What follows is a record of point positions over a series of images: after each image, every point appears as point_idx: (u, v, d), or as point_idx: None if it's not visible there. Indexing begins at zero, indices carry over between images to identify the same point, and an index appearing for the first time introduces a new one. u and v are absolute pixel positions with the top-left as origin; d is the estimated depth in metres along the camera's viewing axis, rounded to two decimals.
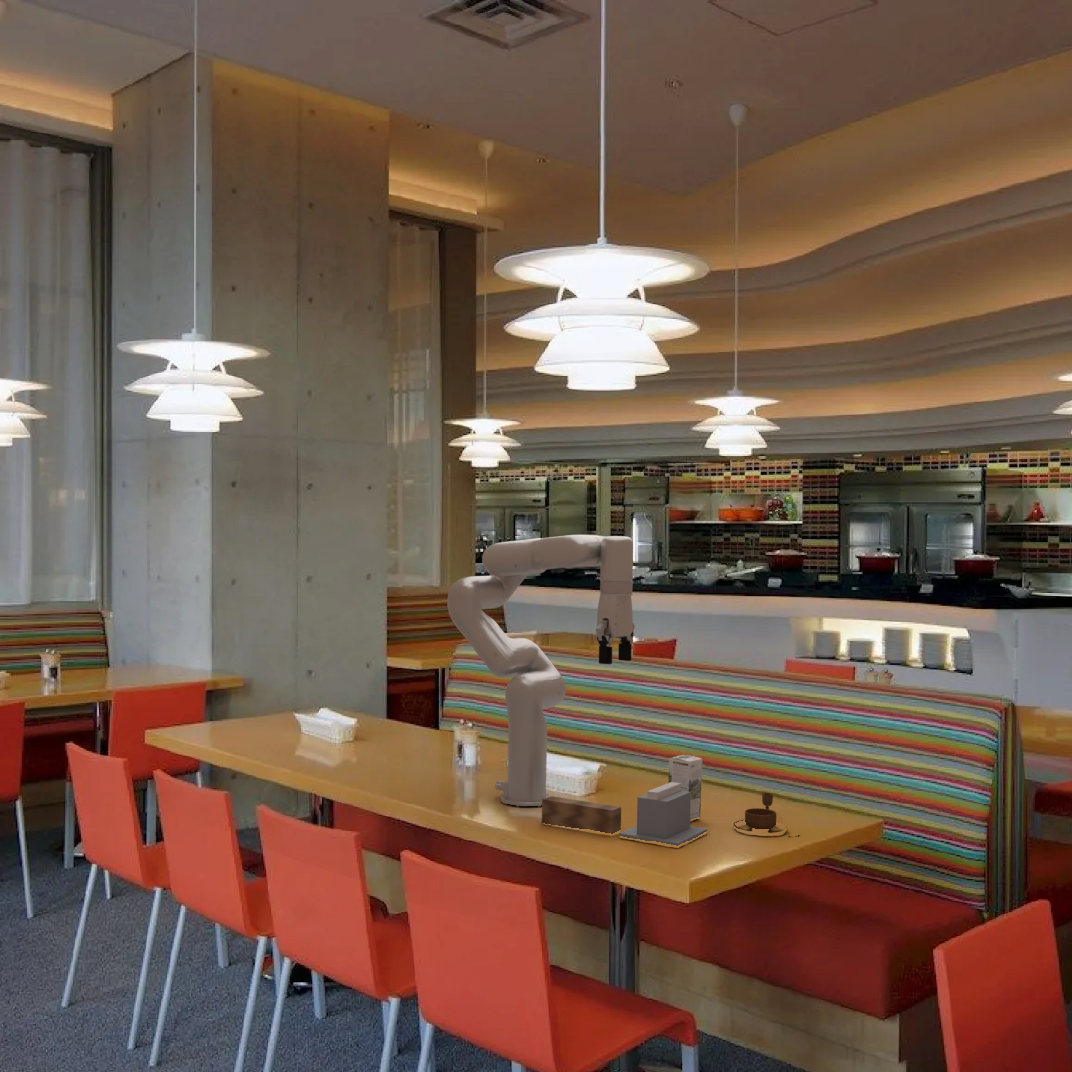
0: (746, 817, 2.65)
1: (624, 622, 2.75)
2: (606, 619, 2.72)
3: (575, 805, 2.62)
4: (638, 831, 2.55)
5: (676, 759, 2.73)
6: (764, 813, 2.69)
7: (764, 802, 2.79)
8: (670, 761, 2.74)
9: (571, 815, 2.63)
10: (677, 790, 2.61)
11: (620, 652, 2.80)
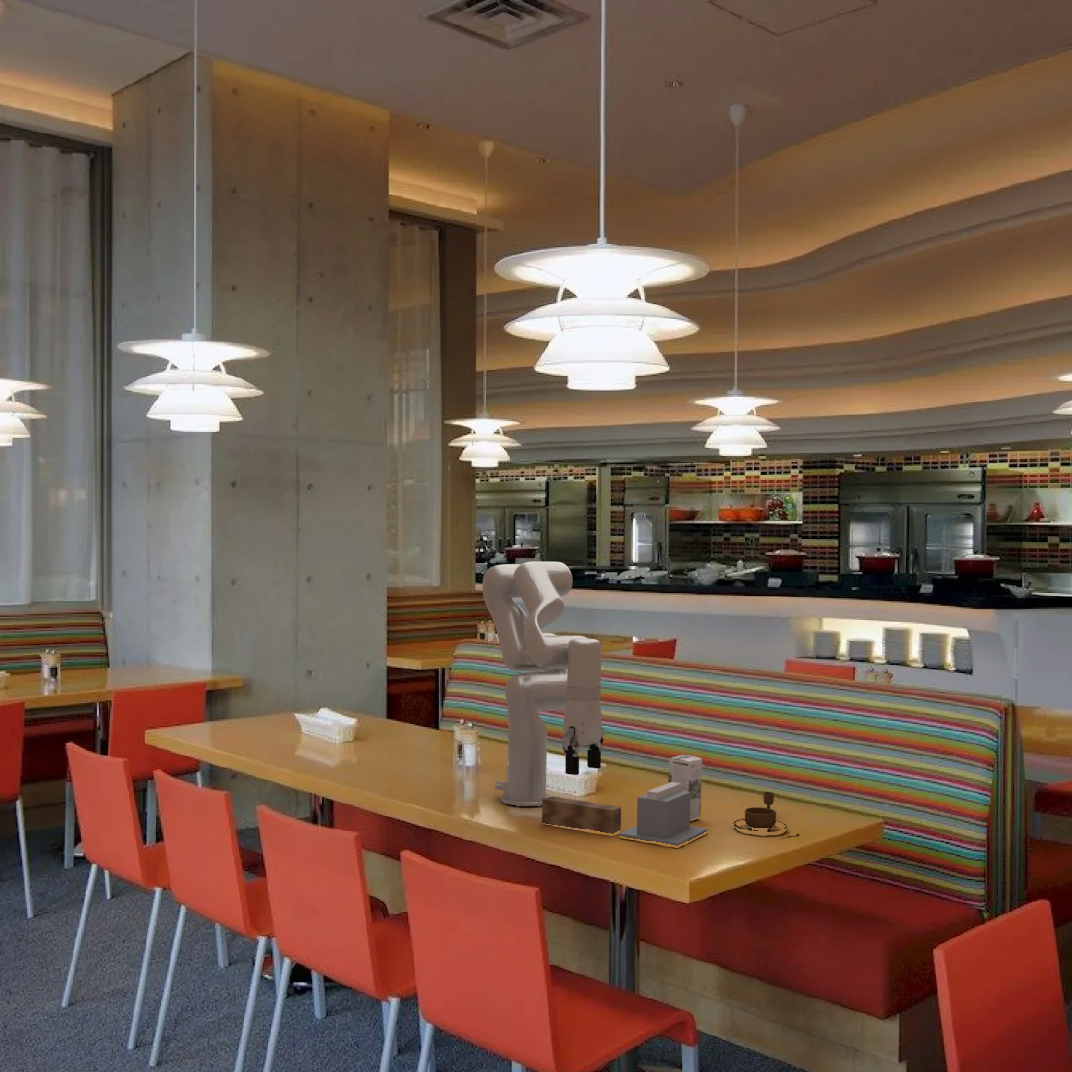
0: (746, 816, 2.66)
1: (592, 729, 2.62)
2: (573, 727, 2.59)
3: (575, 805, 2.62)
4: (638, 831, 2.55)
5: (676, 759, 2.73)
6: (764, 812, 2.69)
7: (765, 801, 2.79)
8: (670, 761, 2.74)
9: (571, 815, 2.63)
10: (677, 790, 2.61)
11: (589, 759, 2.68)
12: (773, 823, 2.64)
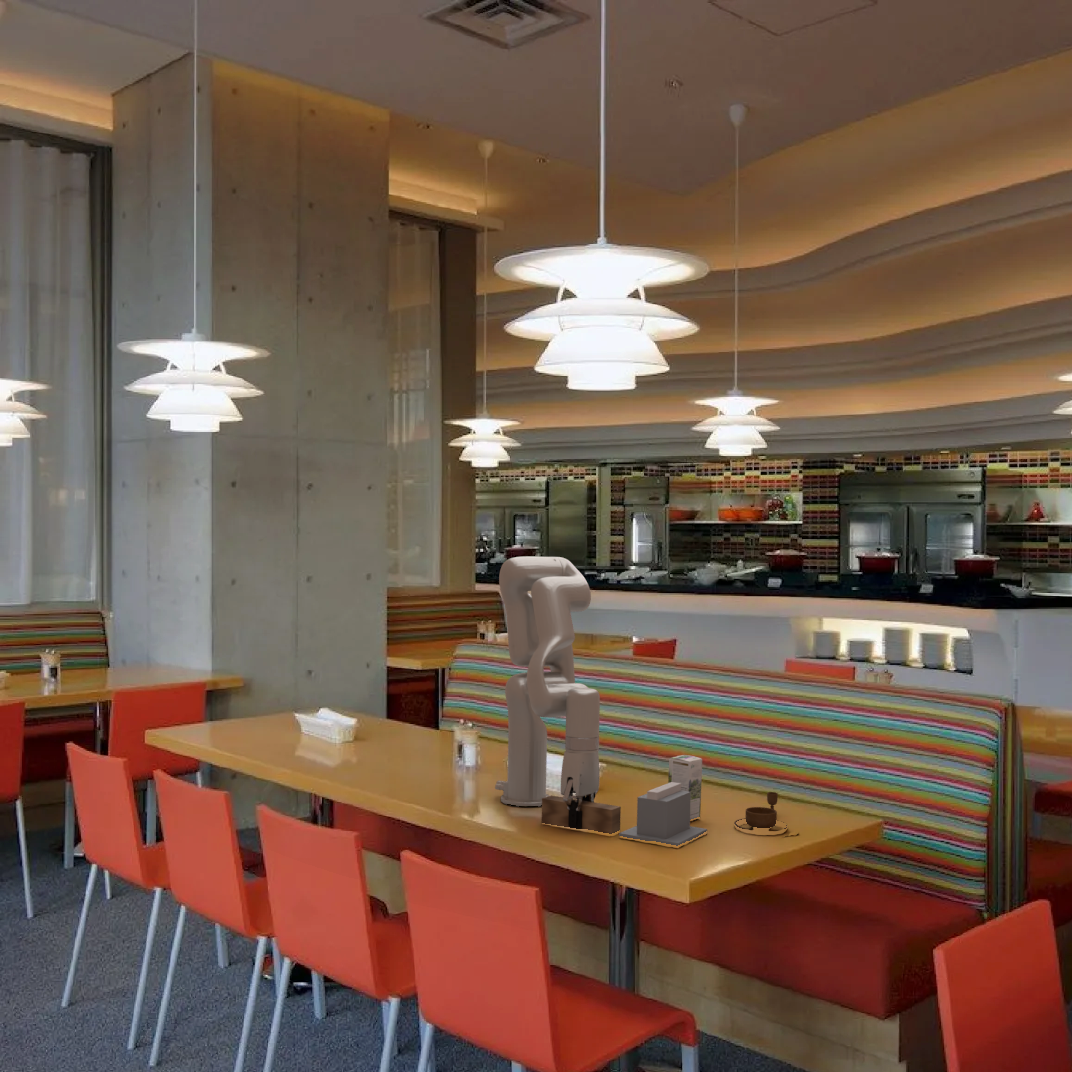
0: (746, 815, 2.66)
1: (590, 780, 2.62)
2: (571, 781, 2.60)
3: None
4: (638, 831, 2.55)
5: (676, 759, 2.73)
6: (765, 812, 2.70)
7: (769, 801, 2.80)
8: (670, 761, 2.74)
9: None
10: (677, 790, 2.61)
11: None
12: (773, 823, 2.65)
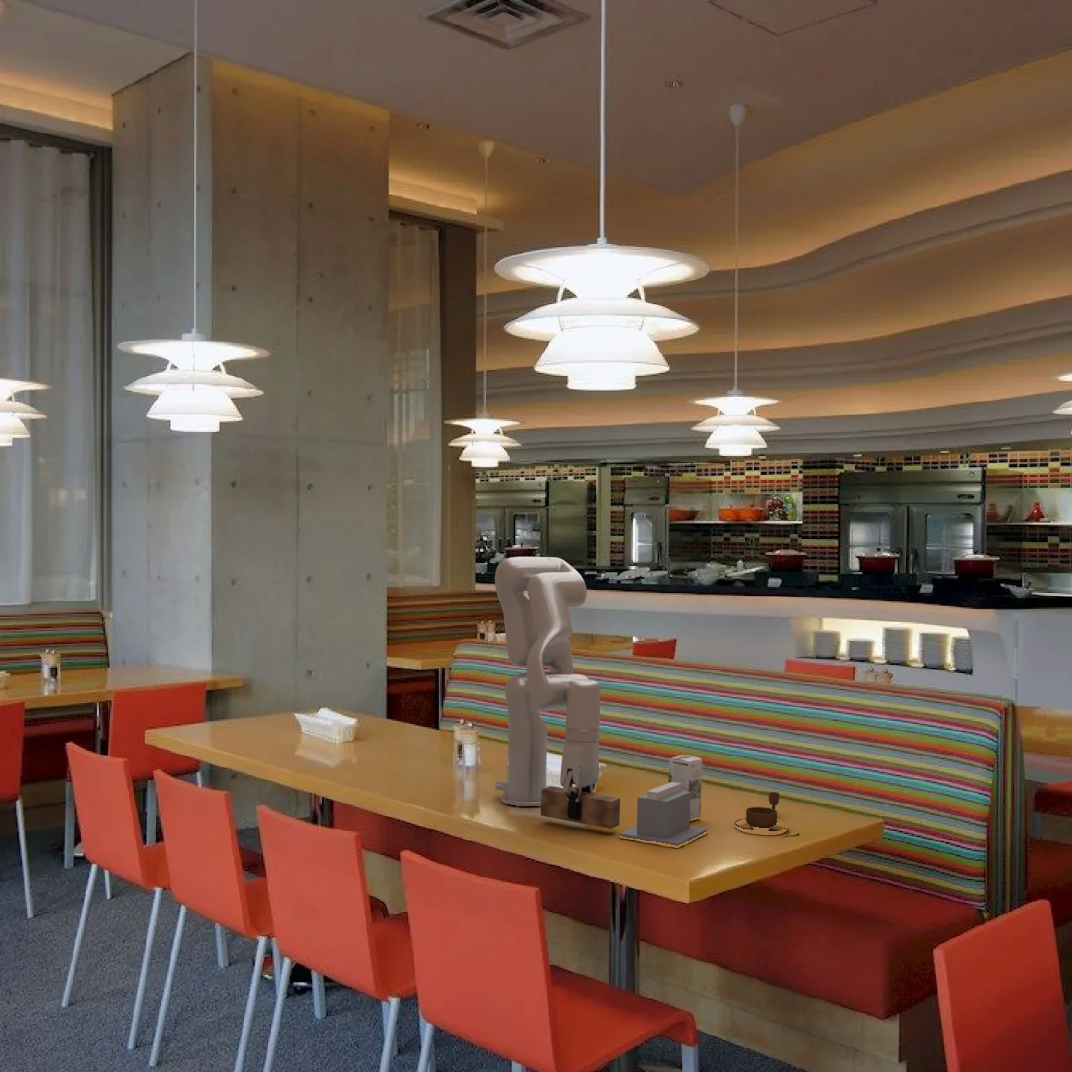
0: (747, 815, 2.67)
1: (589, 771, 2.63)
2: (571, 772, 2.60)
3: None
4: (638, 831, 2.55)
5: (676, 759, 2.73)
6: (766, 812, 2.70)
7: (770, 801, 2.80)
8: (670, 761, 2.74)
9: None
10: (677, 790, 2.61)
11: None
12: (774, 823, 2.65)
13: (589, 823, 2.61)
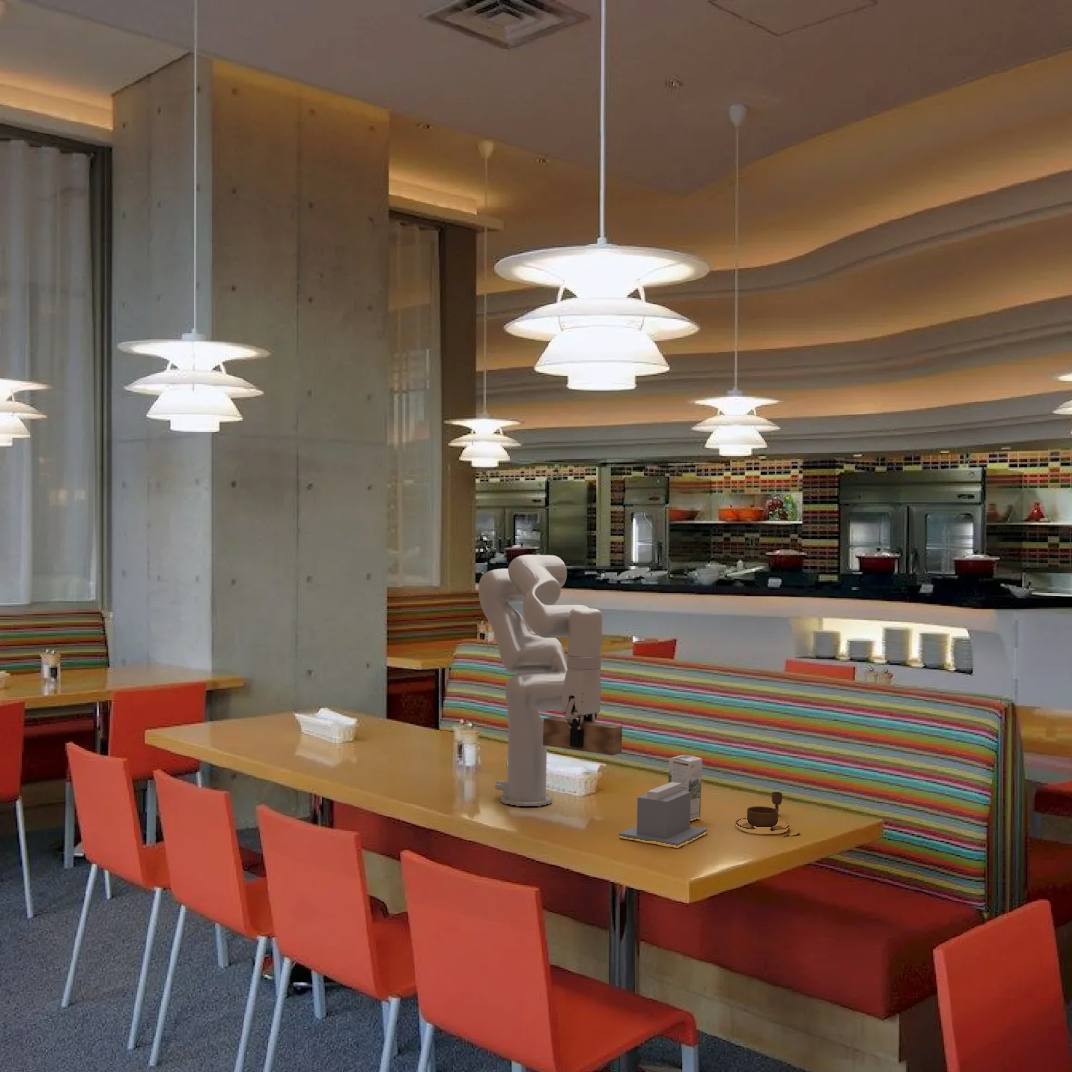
0: (747, 815, 2.67)
1: (591, 699, 2.63)
2: (573, 699, 2.60)
3: None
4: (638, 831, 2.55)
5: (676, 759, 2.73)
6: (768, 811, 2.70)
7: (773, 801, 2.80)
8: (670, 761, 2.74)
9: None
10: (677, 790, 2.61)
11: None
12: (774, 822, 2.65)
13: (591, 750, 2.61)
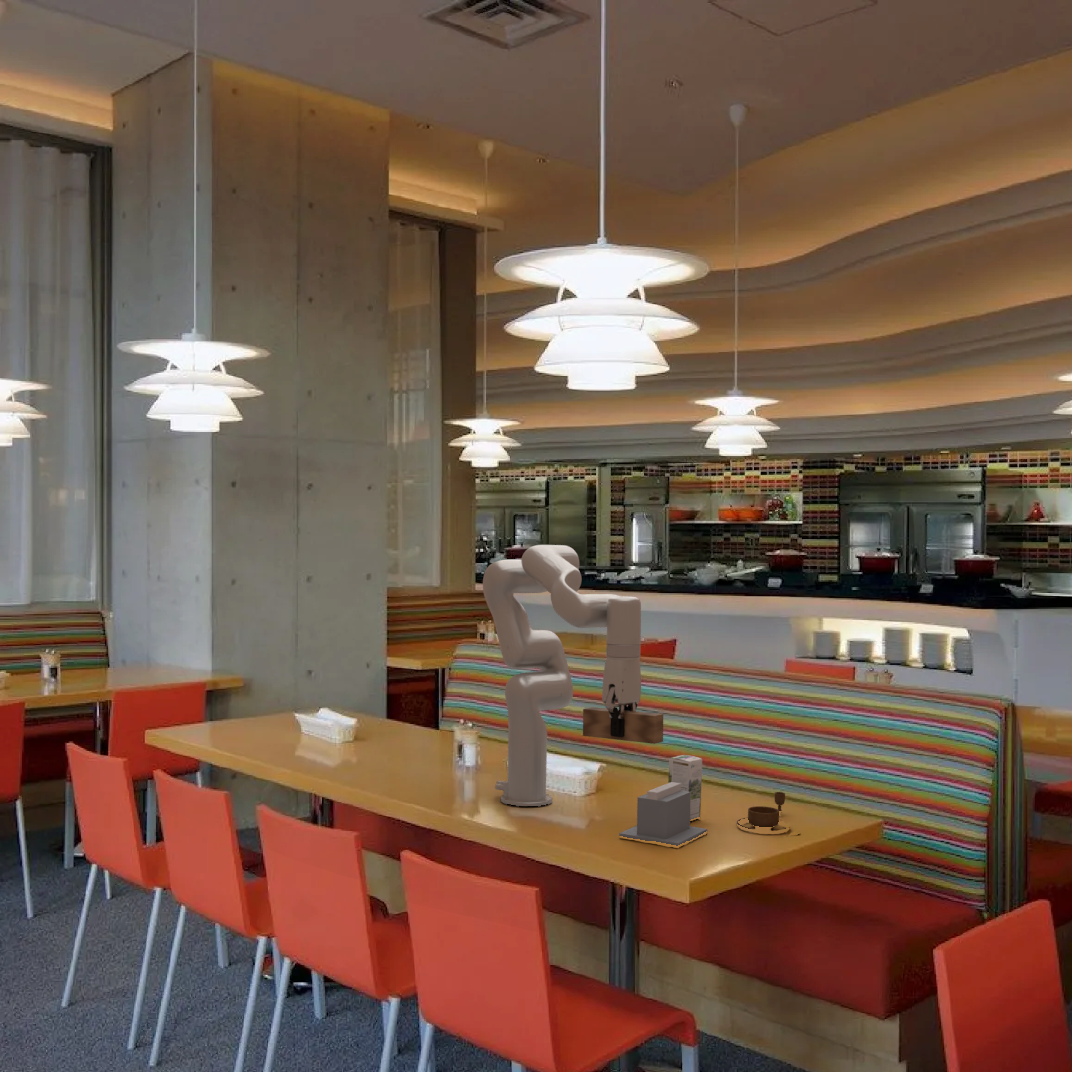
0: (748, 814, 2.67)
1: (632, 688, 2.60)
2: (613, 688, 2.57)
3: None
4: (638, 831, 2.55)
5: (676, 759, 2.73)
6: (769, 811, 2.70)
7: (776, 801, 2.80)
8: (670, 761, 2.74)
9: None
10: (677, 790, 2.61)
11: None
12: (775, 822, 2.65)
13: (632, 739, 2.57)
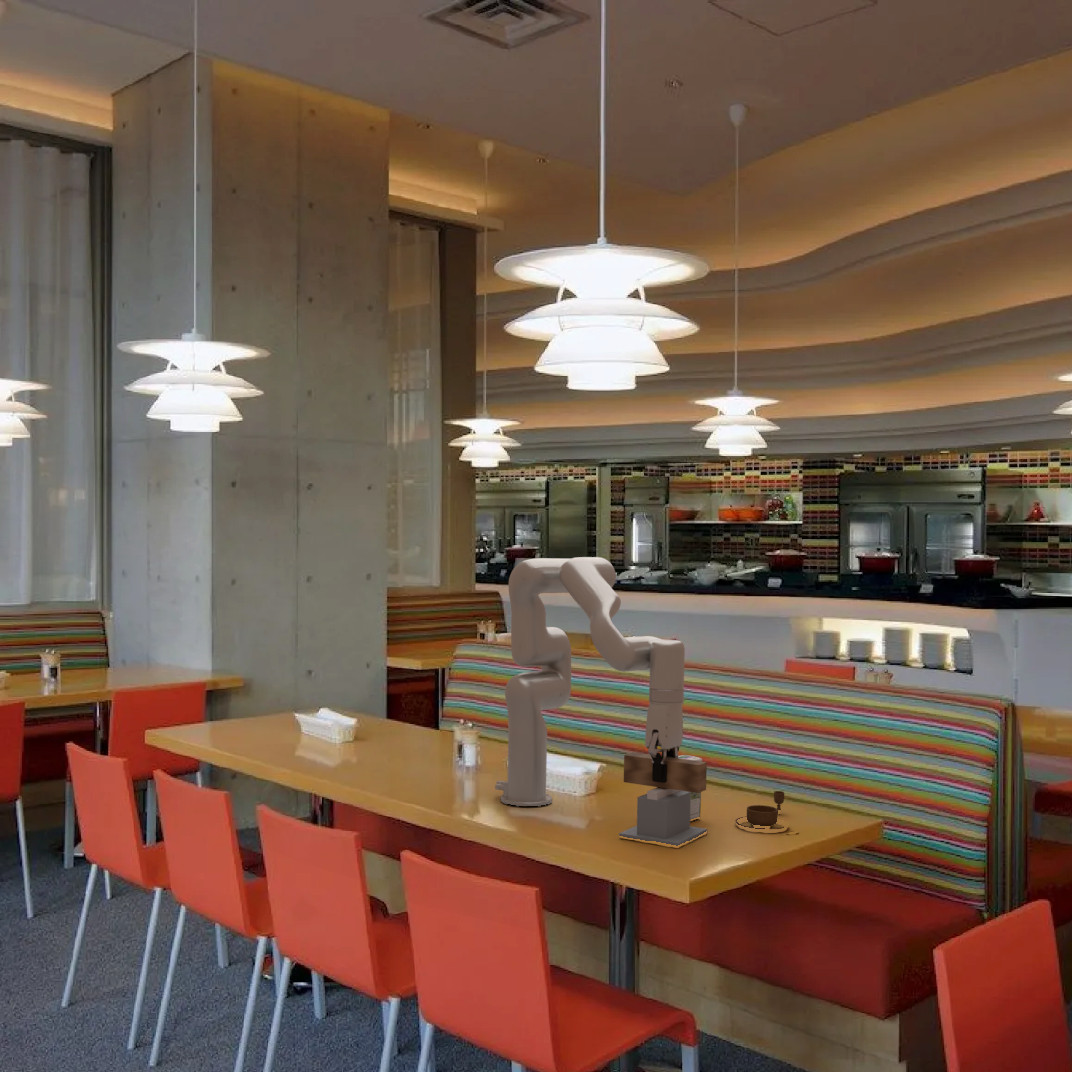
0: (747, 813, 2.69)
1: (675, 733, 2.57)
2: (656, 733, 2.54)
3: None
4: (638, 831, 2.55)
5: None
6: (768, 810, 2.71)
7: (775, 800, 2.81)
8: None
9: None
10: (677, 790, 2.61)
11: None
12: (773, 821, 2.66)
13: (675, 788, 2.55)
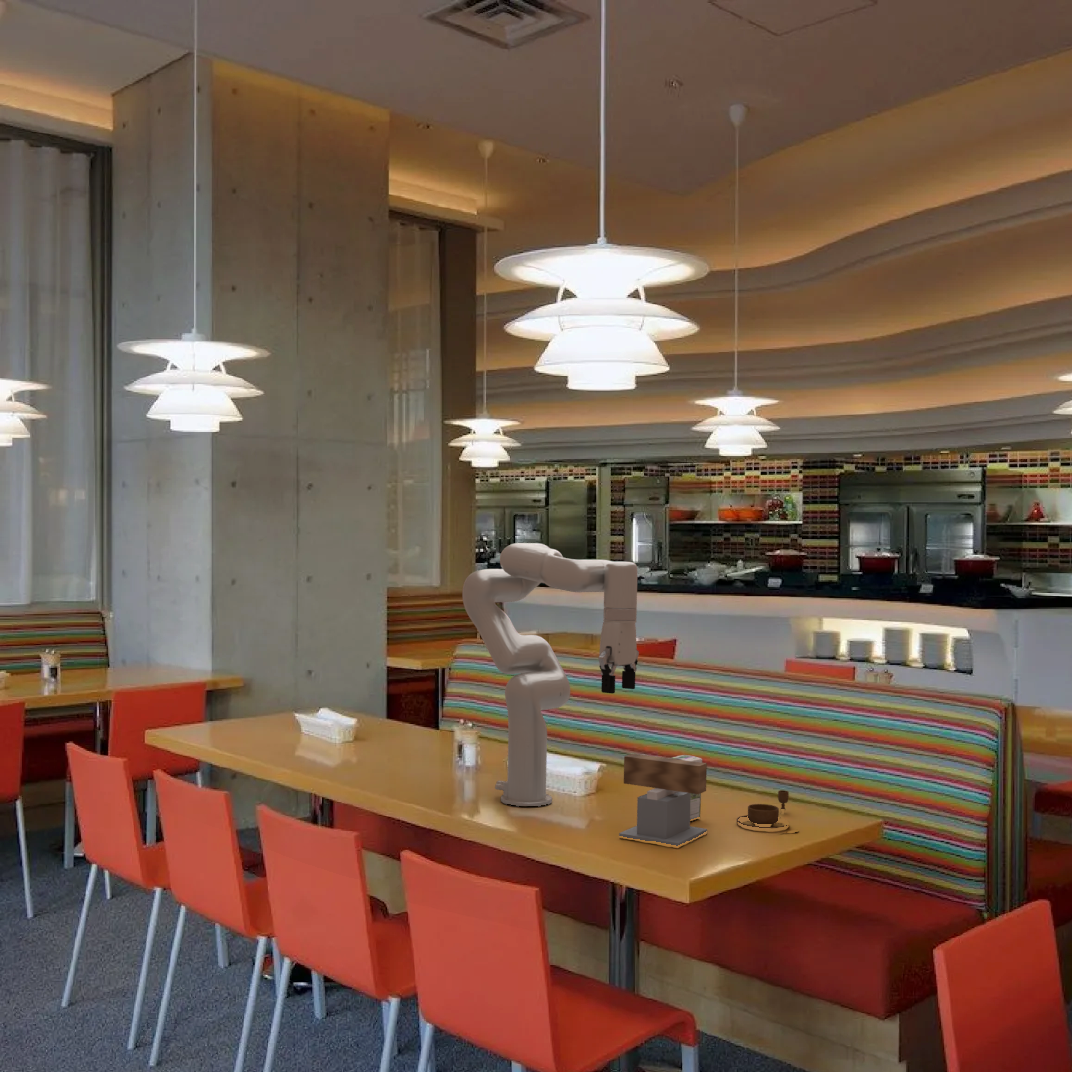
0: (748, 812, 2.70)
1: (628, 650, 2.68)
2: (609, 647, 2.65)
3: (659, 761, 2.57)
4: (638, 831, 2.55)
5: None
6: (769, 809, 2.73)
7: (779, 799, 2.82)
8: None
9: (655, 772, 2.58)
10: None
11: (624, 680, 2.74)
12: (774, 820, 2.67)
13: (675, 789, 2.55)
